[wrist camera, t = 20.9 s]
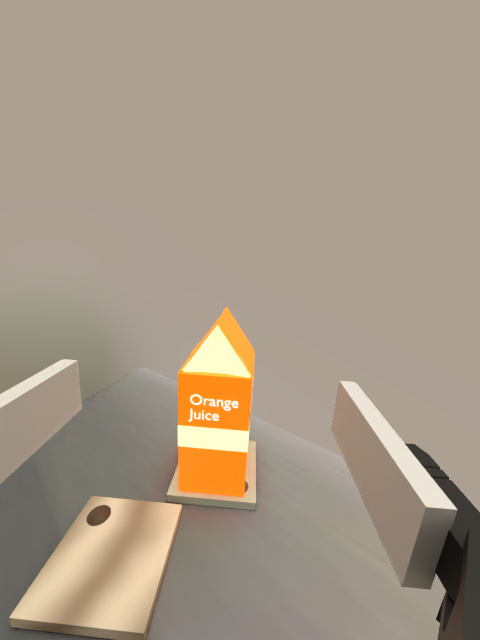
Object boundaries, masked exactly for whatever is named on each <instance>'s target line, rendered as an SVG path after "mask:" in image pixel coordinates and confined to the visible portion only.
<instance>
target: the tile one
mask: <svg viewBox="0 0 480 640" xmlns="http://www.w3.org/2000/svg"><path fill="white" fill-rule="evenodd" d="M181 514H182V505H180V504H169V503H159V502H148V501H138V500H127V499H117V498H106V497H96V496H91V498H90V499H89V501H88V502H87V504H86V505H85V507H84V508H83V510H82V511H81V513H80V514H79V516H78V517H77V519H76V520H75V521H74V523H73V524H72V526H71V527H70V529H69V530H68V532H67V533H66V535H65V536H64V538H63V539H62V541H61V542H60V544H59V545H58V546H57V548H56V549H55V551H54V552H53V554H52V555H51V557H50V558H49V560H48V561H47V563H46V564H45V566H44V567H43V569H42V570H41V571H40V573H39V574H38V576H37V577H36V579H35V580H34V582H33V583H32V585H31V586H30V588H29V589H28V591H27V592H26V594H25V595H24V596H23V598H22V599H21V601H20V602H19V604H18V605H17V607H16V608H15V610H14V611H13V613H12V614H11V616H10V617H9V620H10V624H11V627H13V628H21V629H30V630H38V631H47V632H55V633H64V634H72V635H81V636H89V637H98V638H106V639H115V640H146V636H147V633H148V629H149V626H150V622H151V619H152V615H153V612H154V608H155V605H156V601H157V598H158V594H159V591H160V587H161V584H162V580H163V577H164V573H165V570H166V566H167V563H168V559H169V556H170V552H171V549H172V545H173V542H174V538H175V535H176V531H177V528H178V524H179V521H180V517H181Z"/></svg>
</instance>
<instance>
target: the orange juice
mask: <svg viewBox="0 0 480 640" xmlns="http://www.w3.org/2000/svg"><path fill="white" fill-rule="evenodd" d="M252 379H253V380H254V349H253V348H252V346H251V345H250V343H249V342H248V340H247V338H246V337H245V335H244V333H243V332H242V330H241V329H240V327H239V326H238V324H237V322H236V321H235V320H234V318H233V316H232V315H231V313H230V311H229V310H228V308H227V307H226V308H225V310H224V312H223V313H222V315H221V316H220V318H219V319H218V320H217V321H216V323H215V324H214V325H213V327H212V328H211V329H210V330H209V332H208V333H207V334H206V335H205V337H204V338H203V339H202V341H201V342H200V343H199V344H198V345H197V346H196V347H195V349H194V350H193V352H192V353H191V355H190V356H189V358H188V359H187V361H186V362H185V364H184V366H183V367H182V368H181V370H180V371H179V373H178V491H184V492H194V493H205V494H215V495H225V496H236V497H244V490H245V476H246V462H247V452H248V438H249V419H250V405H251V391H252Z"/></svg>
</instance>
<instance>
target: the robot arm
mask: <svg viewBox="0 0 480 640" xmlns="http://www.w3.org/2000/svg"><path fill="white" fill-rule="evenodd" d="M81 409H82V402H81V392H80V382H79V372H78V361H77V360H65V359H63V360H60V361H59V362H57V363H55V364H54V365H52V366H50V367H48V368H46V369H44V370H43V371H41V372H39V373H37V374H36V375H34V376H32V377H30V378H29V379H27V380H25V381H23V382H21V383H20V384H18V385H16V386H14V387H12V388H11V389H9V390H7V391H5V392H4V393H2V394H0V484H1V483H2V482H3V481H4V480H5V479H6V478H7V477H8V476H9V475H10V474H12V473H13V472H14V471H15V470H16V469H17V468H18V467H19V466H20V465H21V464H22V463H24V462H25V461H26V460H27V459H28V458H29V457H30V456H31V455H32V454H33V453H34V452H36V451H37V450H38V449H39V448H40V447H41V446H42V445H43V444H44V443H45V442H46V441H48V440H49V439H50V438H51V437H52V436H53V435H54V434H55V433H56V432H57V431H58V430H59V429H61V428H62V427H63V426H64V425H65V424H66V423H67V422H68V421H69V420H70V419H71V418H73V417H74V416H75V415H76V414H77V413H78V412H79V411H80V410H81ZM331 430H332V432H333V434H334V437H335V439H336V441H337V443H338V445H339V448H340V450H341V452H342V454H343V457H344V459H345V461H346V463H347V466H348V468H349V470H350V472H351V475H352V477H353V479H354V481H355V483H356V486H357V488H358V490H359V492H360V495H361V497H362V499H363V501H364V503H365V506H366V508H367V510H368V512H369V515H370V517H371V519H372V521H373V523H374V526H375V528H376V530H377V532H378V535H379V537H380V539H381V541H382V543H383V546H384V548H385V550H386V552H387V555H388V557H389V559H390V561H391V564H392V566H393V568H394V570H395V572H396V575H397V577H398V579H399V581H400V584H401V586H402V587H411V588H421V589H431V586H432V583H433V580H434V577H435V574H437V575H438V577H439V579H440V581H441V582H442V584H443V586H444V588H445V589H446V593H445V596H444V598H443V601H442V604H441V607H440V609H439V612H438V615H437V618H436V620H437V621H438V622H440V627H439V634H438V640H480V513H479V511H478V510H477V509H476V508H475V507H474V506H473V505H472V503H471V502H470V501H469V500H468V499H467V498H466V497H465V495H464V494H463V493H462V492H461V491H460V490H459V489H458V487H457V486H456V485H455V484H454V483H453V482H452V481H451V480H449V477H448V476H447V475H446V474H445V473H444V471H442V470H440V467H439V466H438V465H437V463H436V462H435V461H434V460H433V459H432V458H431V457H430V456H429V455H428V454H427V453H426V452H424V451H423V450H422V449H420V448H419V447H417V446H416V445H414V444H405V443H404V442H403V441H402V440H401V439H400V437H399V436H398V435H397V434H396V432H395V431H394V430H393V429H392V427H391V426H390V425H389V424H388V422H387V421H386V420H385V419H384V417H383V416H382V415H381V414H380V412H379V411H378V410H377V409H376V407H375V406H374V405H373V404H372V402H371V401H370V400H369V399H368V397H367V396H366V395H365V394H364V392H363V391H362V390H361V389H360V387H359V386H358V385H357V384H356V382H348V381H339V387H338V393H337V398H336V404H335V411H334V416H333V422H332V427H331Z"/></svg>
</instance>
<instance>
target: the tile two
mask: <svg viewBox="0 0 480 640" xmlns="http://www.w3.org/2000/svg"><path fill="white" fill-rule="evenodd" d="M167 502H172V503H182V504H193V505H203V506H214V507H224V508H235V509H245V510H255V509H256V441H248V452H247V462H246V476H245V490H244V497H236V496H225V495H215V494H205V493H194V492H184V491H178V466H177V468H176V471H175V474H174V476H173V479H172V482H171V485H170V487H169V490H168V493H167Z"/></svg>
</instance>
